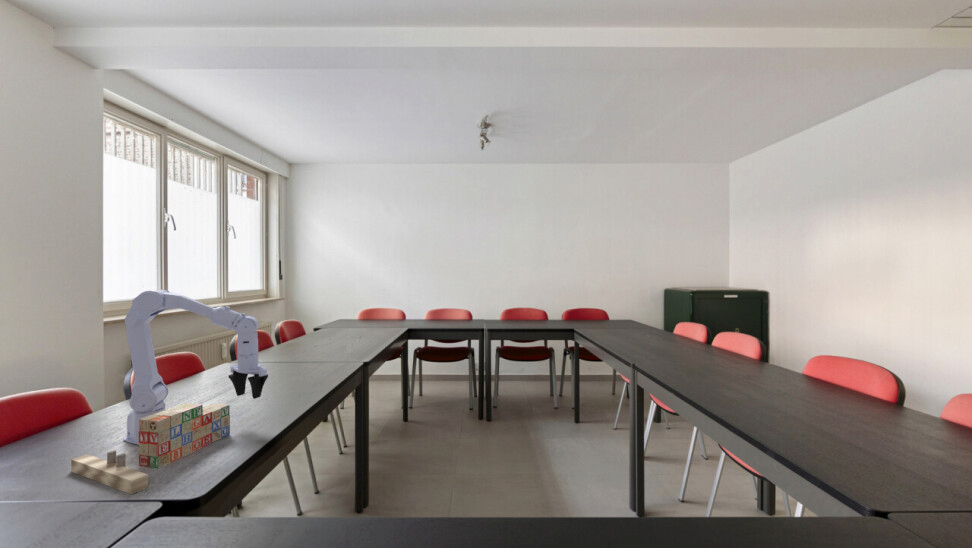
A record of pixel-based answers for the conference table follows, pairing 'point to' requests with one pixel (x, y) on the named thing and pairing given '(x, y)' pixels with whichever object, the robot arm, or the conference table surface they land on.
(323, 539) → the conference table surface
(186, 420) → the stack of blocks
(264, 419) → the conference table surface
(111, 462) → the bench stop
